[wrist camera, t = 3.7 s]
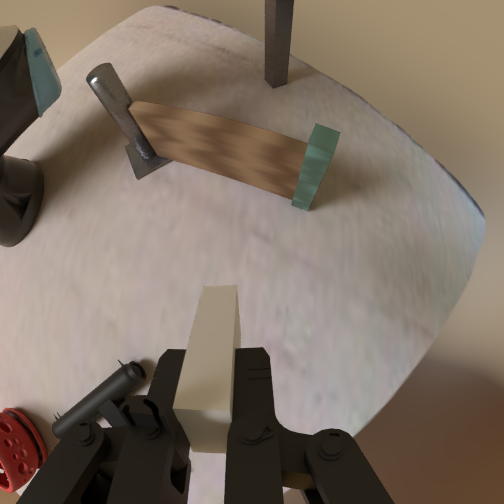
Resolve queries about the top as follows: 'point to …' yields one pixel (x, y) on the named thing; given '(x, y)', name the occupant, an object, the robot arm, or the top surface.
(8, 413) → the plant pot
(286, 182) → the wooden board
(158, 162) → the hinge post
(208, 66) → the top surface
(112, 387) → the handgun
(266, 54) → the post
